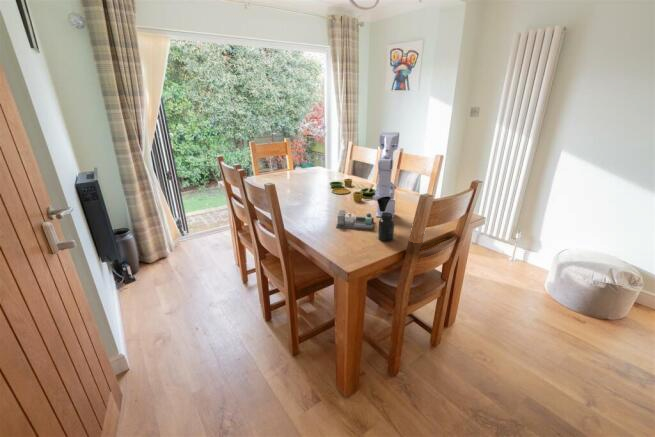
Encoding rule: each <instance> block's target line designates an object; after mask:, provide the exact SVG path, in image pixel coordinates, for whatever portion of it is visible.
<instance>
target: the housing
mask: <svg viewBox="0 0 655 437" xmlns="http://www.w3.org/2000/svg"><path fill="white" fill-rule="evenodd" d="M354 219H355V214H354V213H350V212H348V213H346V214H345V224H349V225H354Z"/></svg>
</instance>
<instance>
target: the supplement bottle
mask: <svg viewBox="0 0 655 437" xmlns="http://www.w3.org/2000/svg"><path fill="white" fill-rule="evenodd" d="M392 216H393V214H391V213H388V212H385V213H382V215H381V217H380V219H379V221H378V237H377V238H378V239H379V240H380V241H381V242H385V243H386V242H392V241H394V235H395V221H394V218H393V217H392Z"/></svg>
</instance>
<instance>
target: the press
mask: <svg viewBox="0 0 655 437" xmlns="http://www.w3.org/2000/svg"><path fill="white" fill-rule="evenodd" d="M346 212H347V211H346V210H345V209H344V210H342V209H340V210H339V211H338V213H337V223H336V225H335V228H337V229H349V230H350V229H351V230H362V231H363V230H367V231H374V222H375V221H374V220H375V217H373V216H372V222H371V224H365V217H366V216H357V215H356V217H355V218H354V225H349V224H345V214H347V213H346Z"/></svg>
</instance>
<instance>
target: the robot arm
mask: <svg viewBox="0 0 655 437" xmlns="http://www.w3.org/2000/svg"><path fill="white" fill-rule="evenodd" d="M399 142H400V132H399V131H397V132H396V131H395V132H394V131H380V133H379V147H380V157H379V160H378V161H377V162H378V163H377V170H378V172H377V175H378V178H377V179H378V180H377V184H376V186H375V190H376V192H375V195H374V196H373V198H372V199H373V200H372V201H375V202H377V206H376V212H375V217H376V218H377V217H378V218H381V215H382V213H385V212H388V213H391V214H393V216H392V217H393V218H392V219H394V218H395V213H396V210H395V209H396V208H395V207H396V199H394V198H395V186H396V185H395V184H394V183H393V182H392V180H391V179H392V171H393V167H394V152H395V151H396V150H398V148H399Z"/></svg>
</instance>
